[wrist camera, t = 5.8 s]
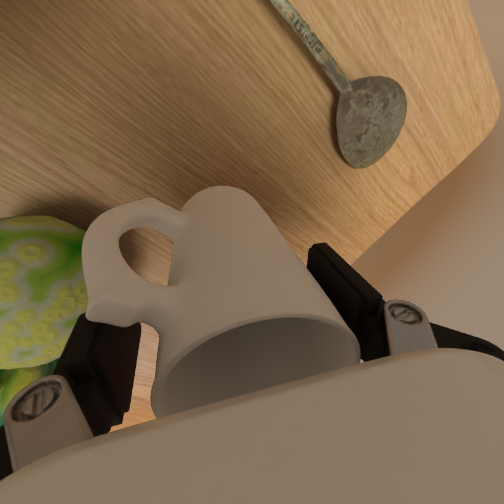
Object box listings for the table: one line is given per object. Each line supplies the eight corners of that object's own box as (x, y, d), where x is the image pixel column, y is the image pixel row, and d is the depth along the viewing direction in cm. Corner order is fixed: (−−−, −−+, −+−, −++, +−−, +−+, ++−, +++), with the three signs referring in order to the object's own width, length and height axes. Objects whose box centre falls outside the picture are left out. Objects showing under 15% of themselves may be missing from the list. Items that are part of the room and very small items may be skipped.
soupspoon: (354, 180, 25) (402, 123, 24) (377, 188, 22) (434, 125, 21) (148, -55, 14) (216, -188, 13) (143, -97, 11) (231, -274, 10)
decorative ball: (144, 224, 22) (119, 298, 13) (111, 308, 25) (74, 411, 16) (-1, 171, 17) (-175, 230, 9) (-18, 281, 21) (-156, 400, 12)
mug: (285, 214, 18) (398, 351, 9) (233, 278, 21) (275, 449, 11) (157, 123, 14) (74, 189, 4) (106, 217, 16) (-34, 420, 6)
